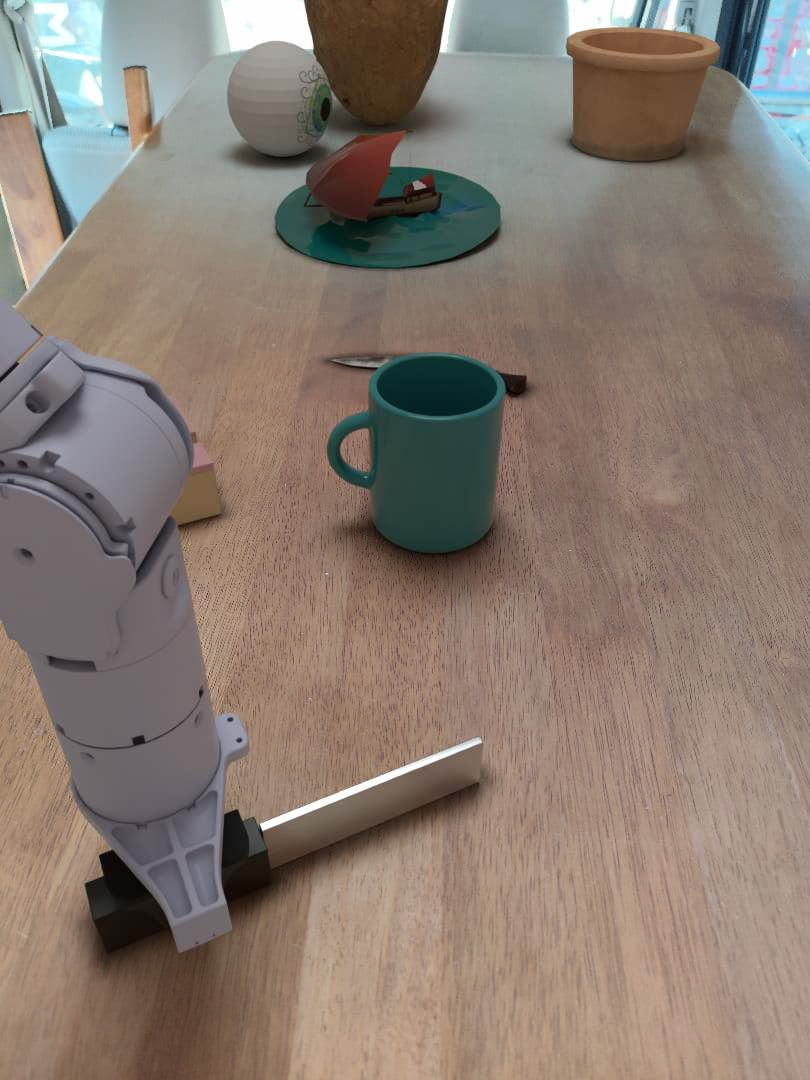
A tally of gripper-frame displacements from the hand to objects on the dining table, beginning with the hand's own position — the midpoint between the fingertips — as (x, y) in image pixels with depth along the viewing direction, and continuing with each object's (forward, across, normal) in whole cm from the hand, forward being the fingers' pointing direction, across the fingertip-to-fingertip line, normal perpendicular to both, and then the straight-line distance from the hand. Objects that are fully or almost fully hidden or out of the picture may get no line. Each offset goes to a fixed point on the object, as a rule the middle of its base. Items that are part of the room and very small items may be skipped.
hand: (182, 882), depth 42 cm
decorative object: (+2, +109, -45) cm, 118 cm away
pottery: (+2, +92, -95) cm, 132 cm away
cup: (+2, +22, -23) cm, 32 cm away
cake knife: (+2, 0, -6) cm, 6 cm away
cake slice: (+2, +30, -6) cm, 31 cm away
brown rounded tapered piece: (+2, +118, -65) cm, 135 cm away
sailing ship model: (+2, +77, -47) cm, 90 cm away
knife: (+2, +41, -34) cm, 53 cm away
